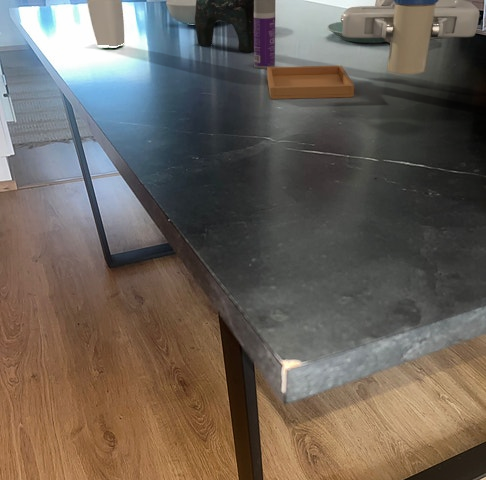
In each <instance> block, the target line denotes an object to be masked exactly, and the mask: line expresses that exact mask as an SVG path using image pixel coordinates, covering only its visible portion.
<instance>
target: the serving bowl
mask: <svg viewBox="0 0 486 480" xmlns="http://www.w3.org/2000/svg"><path fill="white" fill-rule="evenodd" d="M165 3H166V7H167V11H168V12H169V14H170V16H171V18H173V19H174V20H175V21H177V22H178V23H181V22H182V24H185V23H189V24H195V11H196V0H166V2H165ZM218 21H220V22H222V21H221V20H217V21H216V22H217V23H219V22H218Z"/></svg>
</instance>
